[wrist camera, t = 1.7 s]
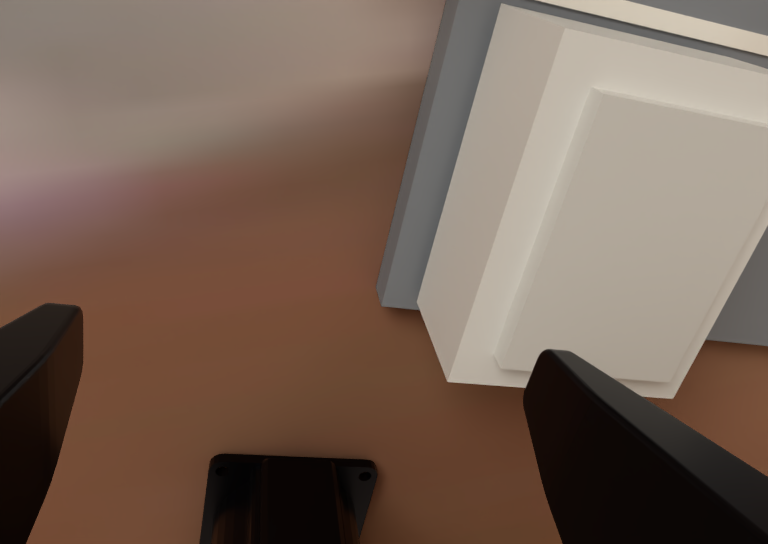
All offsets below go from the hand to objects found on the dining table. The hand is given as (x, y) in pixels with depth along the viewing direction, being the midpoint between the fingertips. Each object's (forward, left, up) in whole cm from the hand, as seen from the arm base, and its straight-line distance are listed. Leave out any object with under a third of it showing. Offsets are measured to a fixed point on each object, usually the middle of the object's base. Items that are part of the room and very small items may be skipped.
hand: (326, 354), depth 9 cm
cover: (0, -8, -10) cm, 12 cm away
